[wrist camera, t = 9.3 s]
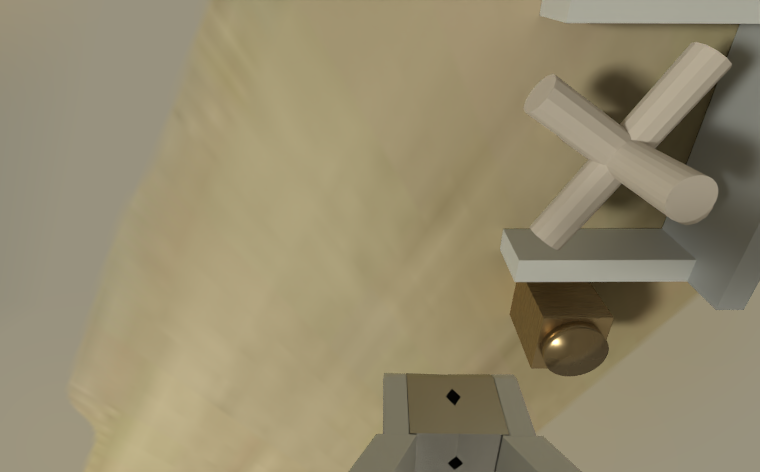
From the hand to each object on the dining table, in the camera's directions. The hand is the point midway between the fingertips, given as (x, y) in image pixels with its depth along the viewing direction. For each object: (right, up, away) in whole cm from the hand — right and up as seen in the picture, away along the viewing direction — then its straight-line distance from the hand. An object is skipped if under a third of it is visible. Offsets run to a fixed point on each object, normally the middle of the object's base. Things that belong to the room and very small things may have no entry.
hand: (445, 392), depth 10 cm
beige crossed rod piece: (+9, +10, +14) cm, 20 cm away
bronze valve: (+10, 0, +20) cm, 22 cm away
